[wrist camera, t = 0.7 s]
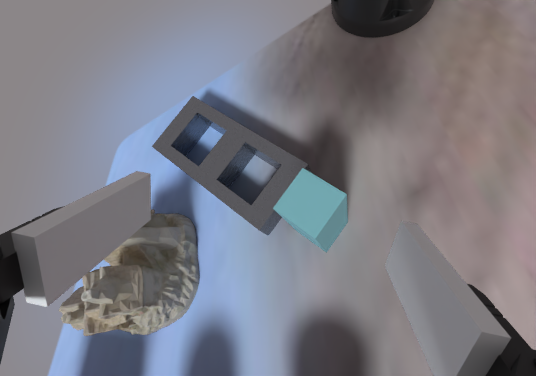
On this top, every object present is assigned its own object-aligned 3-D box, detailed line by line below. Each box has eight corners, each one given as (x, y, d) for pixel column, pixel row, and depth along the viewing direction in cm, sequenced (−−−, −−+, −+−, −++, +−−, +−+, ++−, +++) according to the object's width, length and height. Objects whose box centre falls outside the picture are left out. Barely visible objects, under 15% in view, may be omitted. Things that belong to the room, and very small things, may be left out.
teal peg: (317, 202, 36) (302, 167, 25) (347, 222, 34) (346, 194, 23) (296, 230, 35) (272, 208, 24) (326, 252, 33) (315, 238, 23)
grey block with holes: (167, 157, 45) (151, 146, 41) (205, 110, 46) (192, 96, 42) (268, 235, 36) (259, 230, 33) (312, 175, 37) (308, 164, 33)
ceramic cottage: (202, 209, 40) (116, 180, 26) (199, 334, 35) (92, 376, 22) (120, 221, 45) (11, 201, 31) (107, 332, 40) (-27, 365, 26)
